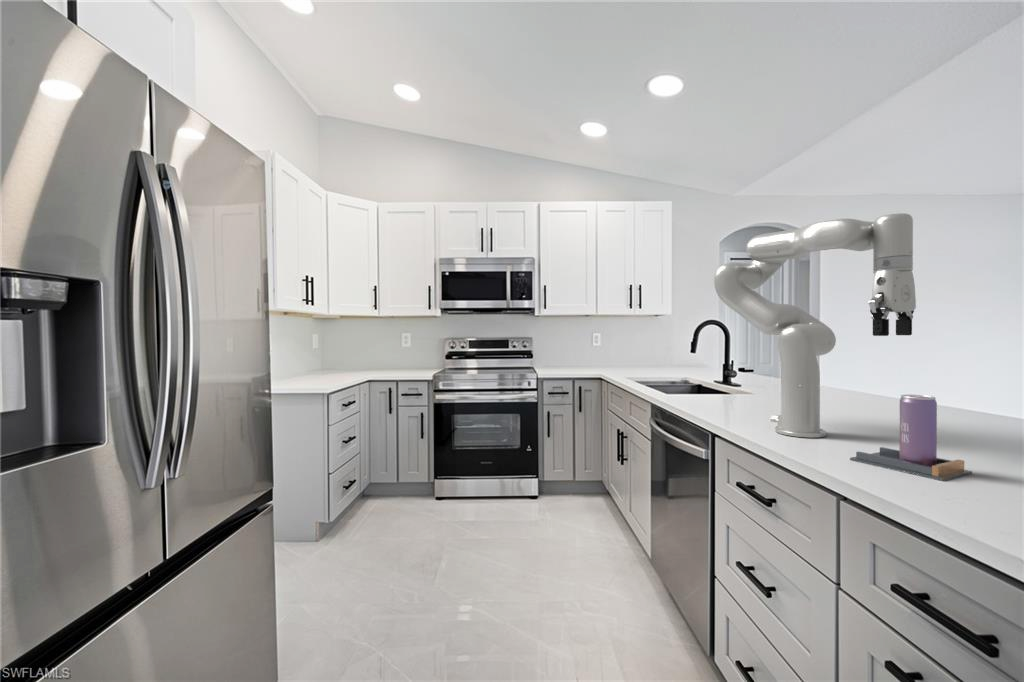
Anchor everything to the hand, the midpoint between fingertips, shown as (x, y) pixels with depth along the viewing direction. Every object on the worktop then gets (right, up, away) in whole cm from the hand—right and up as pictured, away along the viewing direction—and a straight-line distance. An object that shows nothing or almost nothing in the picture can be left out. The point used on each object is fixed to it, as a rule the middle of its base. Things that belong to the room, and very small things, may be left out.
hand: (892, 335), depth 115 cm
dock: (-8, -29, -13) cm, 32 cm away
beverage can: (-7, -28, -15) cm, 33 cm away
